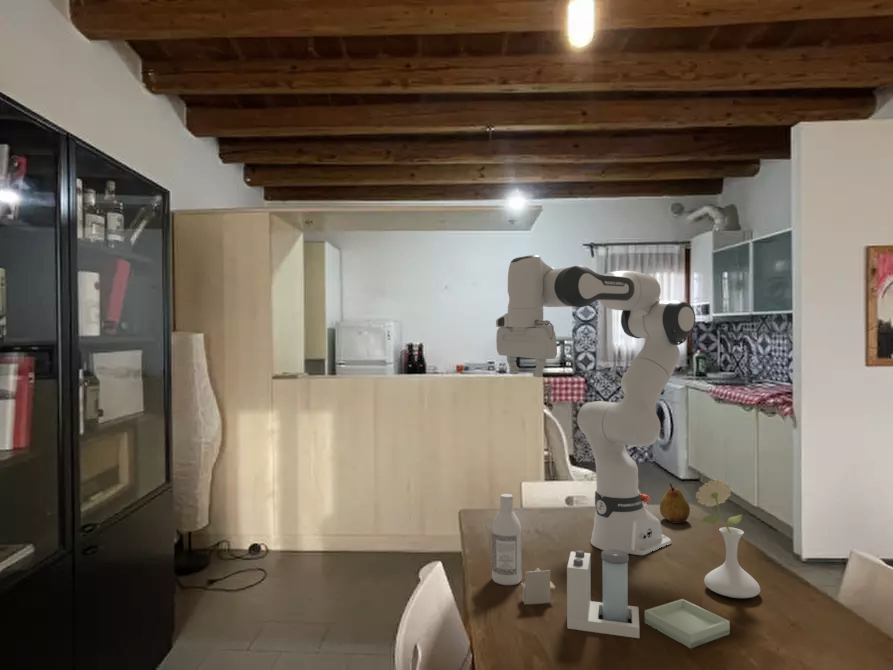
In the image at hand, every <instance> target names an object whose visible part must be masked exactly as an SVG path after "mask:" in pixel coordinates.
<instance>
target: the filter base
mask: <svg viewBox="0 0 893 670" xmlns="http://www.w3.org/2000/svg"><path fill="white" fill-rule="evenodd" d="M591 581H592V580H591V553H590V552H585V551H584V550H580V549H579V550H576V551H570V554H569V558H568V562H567V566H566V603H567V604H566V609H567V610H566V612H567V613H566V616H567V617H566V623H567V625H566V626H567V630H568V629H569V630H577V631H583V632H591V633H598V634H605V635H612V636H613V635H614V636H620V637H626V638H634V639H635V638H636V639H640V615H639V613H640V612H639V611H640V610H639V606H634V605H633V606H632V605H628V620H631V623H630V622H628V623H623V622H615V621H608V620H603V619H600V616H603V601H602V602H601V601H594V600H593V601H592V600H591V598H592V597H591V594H592V593H591Z"/></svg>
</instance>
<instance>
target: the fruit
mask: <svg viewBox="0 0 893 670" xmlns="http://www.w3.org/2000/svg"><path fill="white" fill-rule="evenodd" d="M668 485H669V486H670V488H668V489H667V490H666V492H665V493H664V495H663V497H662V498H661V501H660V504H659V511H660V514H661V515H662V517H663V518H664V519H666V520H667V521H669V522H671V523H674V524H684V523H685V522H686V521H687V520H688V518H689V516H690V513H691V508H690V505H689V501H687V499H686V497H685V495H684V494H683V493H682V491H681V490H680V489H678V488H676V487H673V486H672V483H669V484H668Z"/></svg>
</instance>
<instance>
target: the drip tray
mask: <svg viewBox="0 0 893 670" xmlns="http://www.w3.org/2000/svg"><path fill="white" fill-rule="evenodd" d="M730 622H731V621H730V620H729V619H726V618H724V617H722V616H720V615H718V614H716V613H714V612H712V611H710V610H707V609H705V608H703V607H701V606H699V605H696V604H694V603H693V602H690V601H688V600H686V599H684V598H681V599H677V600H674V601H671V602H668V603H664V604H662V605H658V606H654V607H652V608H647V609H645V610H644V624H645V625H647V624H648V625H647V626H649V625H650V627H651V626H652V627H651V628H653V629H655V630H656V629H657V631H659V632H660V633H662V634H664V635H665V636H667V637H669V638H671V639H673V640H674V641H676V642H678V643H680V644H682V645H684V646H686V647H687V648H688V649H693V648H696V647H699V646H701V645H704V644H707V643H709V642H712V641H714V640H718V639H721V638H723V637H725V636H729V635H730V633H731V632H730V631H731V630H730V629H731V623H730Z"/></svg>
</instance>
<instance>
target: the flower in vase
mask: <svg viewBox="0 0 893 670" xmlns="http://www.w3.org/2000/svg"><path fill="white" fill-rule="evenodd" d="M730 488H731V487H730V483H727V482H726V483H724V480H719V479H715V480H714V481H713V480H709V481H708V482H705V483H704V484H703V485H702V486H700V487H699V488H698V491H697V492H695V498H696V499H697V503H698V504H701V505H702V506H703V505H704V506H706V507H714V506H716V507H717V511H718V515H715V514H708V515H706V516H705V517H703V518H702V519H701V520H700V523H707V524H711V525H715V524H717V523H718V522H719V521H720V520H721V521H722V524H724V526H725V527H724V526H723V527H720V528H719V532H720V533H721V534H722V537H723V539H724V545H725V561H724V562H723V564H721V565H720V566H718V567H716V568H714V569H713V570H710V571H709V572H708V573H707V574H705V577H704V578H703V582H704V584H705V586H706V587H707V588H708V589H709V590H710V591H712V592H715V593H716V594H719V595H721V596H725V597H728V598H734V599H749V598H755V597H756V596H758V595H759V594H760V592H761V587H760V585H759V583H758V582H757V581H756V580H755V578H753V576H752V575H751V574H749V573H748V572H747V571H746V570H744V569H743V568H742V567H741V565H740V564H739V561H738V546H739V542H740V540H741V537H742V536H743V535H744V533H745V531H743V530H742V529H740V528H735V527H730V526H736V525H739V523H740V522H741V521H742V520H743V519H742V518H743V513H741V514H738V515H735V516H731V517H728V518H727V521H726V522H725V520H724V519H723V517H722V515H721V510H720V506H719V505H720V504H725V502H726V501H727V500H728V499H729V498H730V497H731V495H732V494H731V491H732V490H731V489H730Z"/></svg>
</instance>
